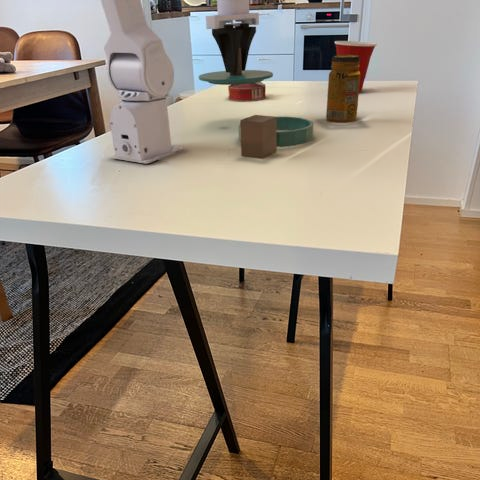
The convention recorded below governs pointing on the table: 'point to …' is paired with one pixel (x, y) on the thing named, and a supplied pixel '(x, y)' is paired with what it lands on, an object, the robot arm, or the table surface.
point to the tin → (292, 131)
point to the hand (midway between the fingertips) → (235, 71)
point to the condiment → (343, 89)
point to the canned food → (247, 92)
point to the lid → (236, 75)
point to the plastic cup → (360, 50)
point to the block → (258, 136)
